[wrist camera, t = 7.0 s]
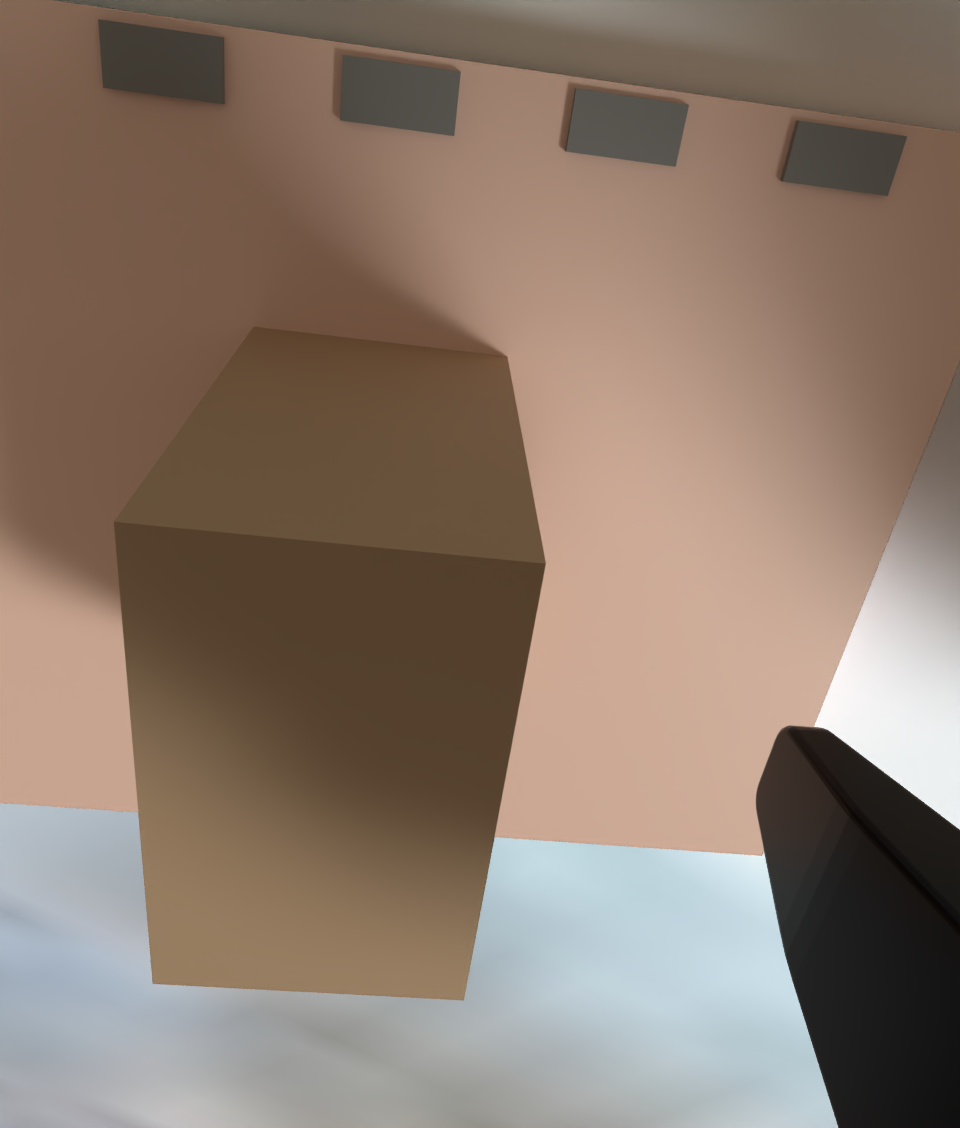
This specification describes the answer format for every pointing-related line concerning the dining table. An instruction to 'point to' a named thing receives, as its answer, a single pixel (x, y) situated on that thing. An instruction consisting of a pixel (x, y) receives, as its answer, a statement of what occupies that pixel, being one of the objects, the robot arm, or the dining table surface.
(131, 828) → the dining table surface
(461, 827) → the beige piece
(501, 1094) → the dining table surface
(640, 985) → the dining table surface
